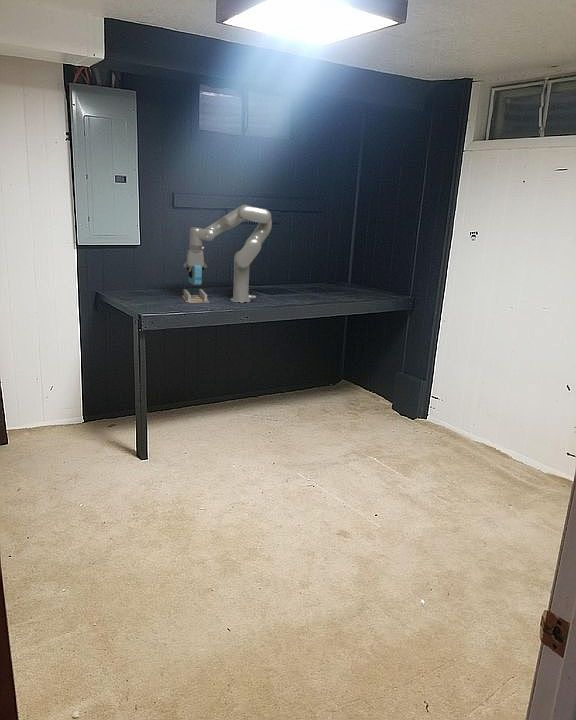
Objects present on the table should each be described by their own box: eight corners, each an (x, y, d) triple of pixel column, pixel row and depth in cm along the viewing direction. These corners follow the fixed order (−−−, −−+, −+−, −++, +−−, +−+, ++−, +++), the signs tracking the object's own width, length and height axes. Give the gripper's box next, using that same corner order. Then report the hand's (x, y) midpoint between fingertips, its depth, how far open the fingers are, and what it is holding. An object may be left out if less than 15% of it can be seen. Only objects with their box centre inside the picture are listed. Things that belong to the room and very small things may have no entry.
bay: (181, 296, 373) (181, 289, 371) (203, 296, 377) (203, 289, 376) (186, 302, 355) (186, 294, 353) (209, 302, 359) (209, 295, 358)
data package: (201, 285, 359) (202, 266, 356) (194, 285, 357) (194, 266, 354) (195, 282, 369) (195, 263, 366) (188, 282, 367) (188, 263, 364)
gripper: (208, 248, 363) (207, 277, 368) (180, 247, 358) (180, 276, 363) (210, 249, 356) (209, 279, 361) (182, 248, 351) (182, 278, 356)
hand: (195, 277), depth 362 cm, fingers closed on data package, 5 cm apart
